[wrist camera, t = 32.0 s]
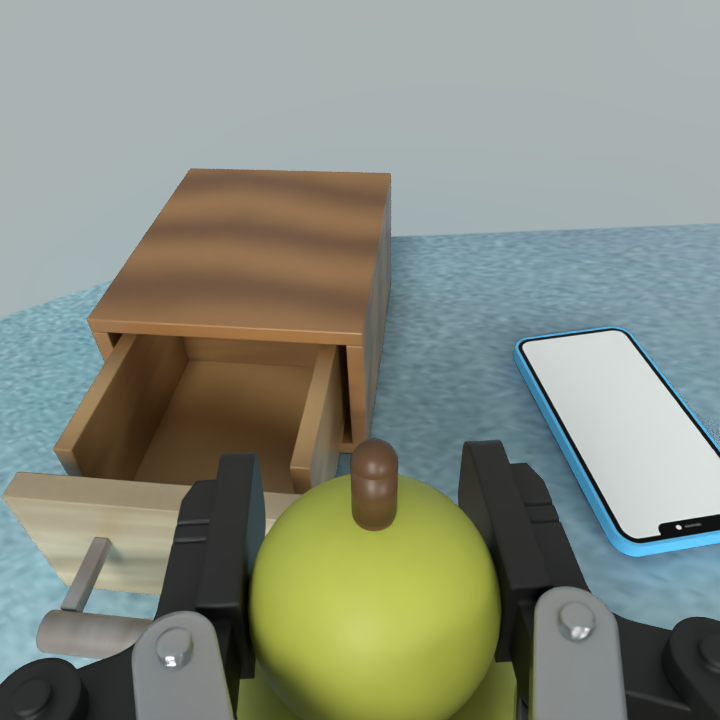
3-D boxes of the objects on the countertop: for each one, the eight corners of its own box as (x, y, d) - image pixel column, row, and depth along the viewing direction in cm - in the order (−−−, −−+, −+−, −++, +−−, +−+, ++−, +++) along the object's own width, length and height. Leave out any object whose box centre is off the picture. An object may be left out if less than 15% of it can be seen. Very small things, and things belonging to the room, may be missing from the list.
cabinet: (367, 454, 34) (362, 333, 28) (136, 437, 35) (85, 319, 29) (391, 284, 45) (391, 172, 39) (215, 276, 47) (190, 167, 41)
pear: (327, 1015, 11) (281, 764, 6) (206, 726, 16) (106, 406, 10) (558, 809, 14) (692, 490, 8) (401, 608, 18) (416, 300, 12)
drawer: (311, 724, 24) (292, 648, 19) (15, 688, 25) (-71, 608, 20) (366, 375, 37) (363, 281, 33) (173, 363, 38) (143, 271, 34)
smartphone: (624, 324, 40) (779, 523, 29) (620, 338, 41) (769, 538, 29) (510, 339, 39) (623, 550, 28) (508, 353, 40) (617, 564, 29)
